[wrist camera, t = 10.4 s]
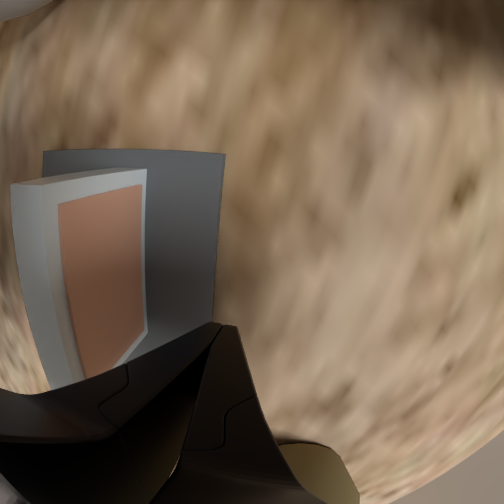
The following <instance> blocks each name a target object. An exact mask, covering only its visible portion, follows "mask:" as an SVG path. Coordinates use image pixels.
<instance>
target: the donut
mask: <svg viewBox="0 0 504 504" xmlns="http://www.w3.org/2000/svg"><path fill="white" fill-rule="evenodd" d="M52 1H53V0H0V22H4V21H8V20H11V19H14V18H18V17H21V16H25V15H29V14H30V13H32V12H34V11H36V10H38V9H39V8H41V7H43V6H45V5H47V4H49V3H51V2H52Z"/></svg>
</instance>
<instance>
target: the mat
mask: <svg viewBox="0 0 504 504" xmlns="http://www.w3.org/2000/svg"><path fill="white" fill-rule="evenodd" d="M225 156H226V154H219V153H206V152H191V151H174V150H148V149H81V150H57V151H43V176H42V178H45V177H51V176H57V175H63V174H69V173H76V172H83V171H90V170H98V169H106V168H115V167H120V168H142V169H147V178H146V199H145V291H146V311H147V327H148V333H147V335H146V336H145V337H144V338H143V339H142V341H141V342H140V343H139V344H138V345H137V347H136V348H135V349H134V350H133V352H132V353H131V354H130V355H129V356H128V358H127V359H126V360H125V361H124V363H125V364H126V362H128V361H130V360H132V359H134V358H137V357H139V356H141V355H143V354H145V353H147V352H149V351H151V350H153V349H155V348H157V347H159V346H161V345H163V344H165V343H168V342H170V341H172V340H174V339H176V338H178V337H180V336H182V335H184V334H186V333H188V332H190V331H192V330H194V329H196V328H198V327H199V326H201V325H203V324H205V323H207V322H212V313H213V297H214V282H215V268H216V255H217V242H218V230H219V218H220V207H221V196H222V186H223V176H224V166H225ZM124 363H123V364H124Z"/></svg>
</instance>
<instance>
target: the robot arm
mask: <svg viewBox="0 0 504 504" xmlns="http://www.w3.org/2000/svg"><path fill="white" fill-rule="evenodd" d="M181 451H182V452H181ZM179 456H180V458H179ZM178 458H179V461H178V463H177V466H176V468H175V470H174V472H173V473H172V474H171V472H172V470H173V468H174V466H175V464H176V462H177V460H178ZM170 474H171V476H170ZM169 476H170V477H169ZM0 504H328V503H326V502H325V501H323V500H321V499H320V498H318V497H317V496H315V495H313V494H312V493H310V492H309V491H308V490H307V489H306V488H304V486H303V485H302V484H301V483H300V482H299V480H298V479H297V478H296V476H295V474H294V473H293V471H292V469H291V468H290V466H289V464H288V462H287V460H286V459H285V457H284V455H283V453H282V451H281V450H280V448H279V446H278V444H277V442H276V440H275V438H274V437H273V435H272V433H271V430H270V428H269V426H268V424H267V422H266V420H265V417H264V414H263V411H262V409H261V406H260V403H259V399H258V397H257V393H256V390H255V386H254V383H253V380H252V376H251V373H250V369H249V366H248V362H247V359H246V356H245V352H244V349H243V345H242V341H241V338H240V334H239V331H238V328H237V327H236V326H231V325H222V324H220V323H215V322H207V323H205V324H203V325H201V326H199V327H198V328H196V329H194V330H192V331H190V332H188V333H186V334H184V335H182V336H180V337H178V338H176V339H174V340H172V341H170V342H168V343H165V344H163V345H161V346H159V347H157V348H155V349H153V350H151V351H149V352H147V353H145V354H143V355H141V356H139V357H137V358H134V359H132V360H130V361H128V362H126V364H125V363H124V364H122V365H119V366H117V367H115V368H113V369H111V370H108V371H106V372H104V373H101V374H99V375H96V376H93V377H91V378H88V379H85V380H82V381H79V382H76V383H73V384H70V385H67V386H64V387H60V388H57V389H54V390H51V391H47V392H44V393H40V394H33V395H25V394H18V393H14V392H11V391H8V390H4V389H1V388H0Z"/></svg>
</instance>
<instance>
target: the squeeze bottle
mask: <svg viewBox="0 0 504 504" xmlns="http://www.w3.org/2000/svg"><path fill="white" fill-rule="evenodd" d="M279 448H280V450H281V451H282V453H283V455H284V457H285V459H286V460H287V462H288V464H289V466H290V468H291V469H292V471H293V473H294V474H295V476H296V478H297V479H298V480H299V482H300V483H301V484H302V485H303V486H304V488H306V489H307V490H308V491H309V492H310V493H312V494H313V495H315V496H317V497H318V498H320V499H321V500H323V501H325V502H326V503H328V504H359V501H360V494H359V492H358V490H357V488H356V486H355V484H354V482H353V480H352V479H351V477H350V475H349V473H348V471H347V469H346V467H345V465H344V463H343V461H342V459H341V457H340V456H339V455H338V454H337V453H335V452H334V451H333V450H331V449H329V448H326V447H323V446H320V445H313V444H304V443H297V444H284V445H280V446H279Z"/></svg>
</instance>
